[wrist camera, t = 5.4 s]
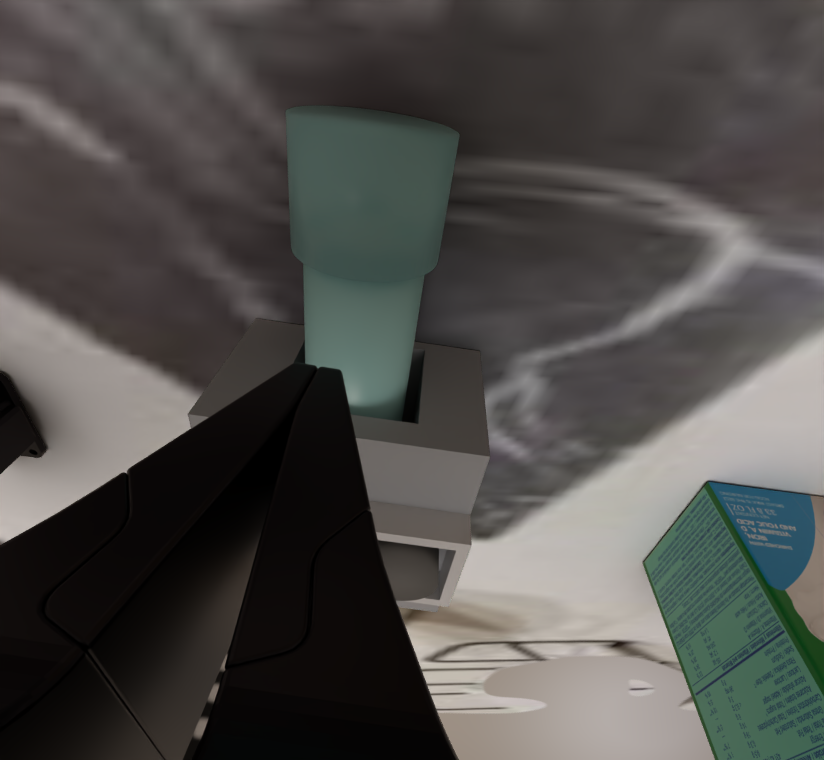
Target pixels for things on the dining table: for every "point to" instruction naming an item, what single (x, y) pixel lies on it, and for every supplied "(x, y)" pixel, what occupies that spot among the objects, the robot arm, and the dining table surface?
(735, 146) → the dining table surface
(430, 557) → the plunger
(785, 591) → the milk carton
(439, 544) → the housing
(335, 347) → the cartridge
